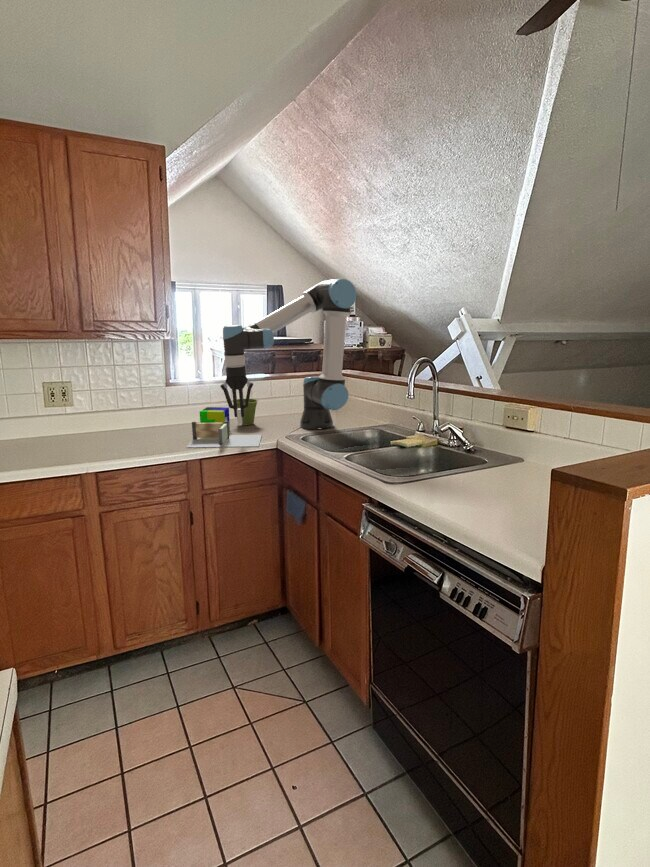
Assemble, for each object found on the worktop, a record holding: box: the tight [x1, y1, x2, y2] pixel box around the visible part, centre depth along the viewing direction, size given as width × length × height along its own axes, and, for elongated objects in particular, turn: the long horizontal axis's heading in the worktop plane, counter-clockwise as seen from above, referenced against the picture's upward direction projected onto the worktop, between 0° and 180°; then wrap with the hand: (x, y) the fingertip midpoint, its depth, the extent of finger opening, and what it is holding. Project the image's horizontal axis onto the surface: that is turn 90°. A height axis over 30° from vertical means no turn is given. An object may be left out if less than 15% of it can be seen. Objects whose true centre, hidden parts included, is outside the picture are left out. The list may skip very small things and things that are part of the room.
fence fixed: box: [191, 421, 230, 440], centre depth 207 cm, size 15×2×8 cm, turn 93°
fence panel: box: [218, 424, 228, 445], centre depth 200 cm, size 11×1×6 cm, turn 179°
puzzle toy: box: [199, 406, 231, 431], centre depth 220 cm, size 10×10×10 cm
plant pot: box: [231, 398, 259, 426], centre depth 234 cm, size 12×12×11 cm
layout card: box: [186, 434, 263, 449], centre depth 205 cm, size 28×18×1 cm, turn 93°
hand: (240, 424), depth 200 cm, fingers closed
